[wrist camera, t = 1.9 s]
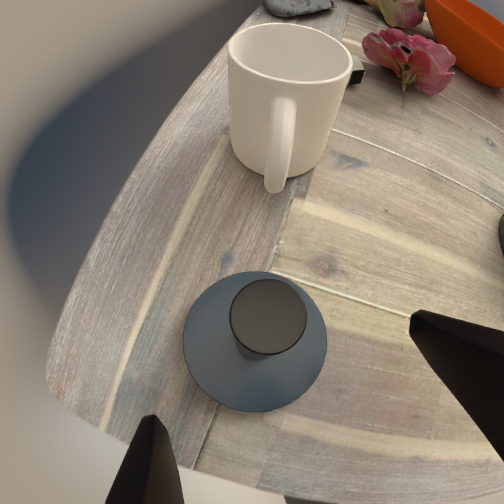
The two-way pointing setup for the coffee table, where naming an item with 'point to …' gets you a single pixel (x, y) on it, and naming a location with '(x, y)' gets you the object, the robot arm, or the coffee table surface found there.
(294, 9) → the fossil
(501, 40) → the bowl
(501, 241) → the tin
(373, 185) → the coffee table surface
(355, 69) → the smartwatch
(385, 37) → the flower
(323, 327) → the lid
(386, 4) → the sculpture
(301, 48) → the mug
